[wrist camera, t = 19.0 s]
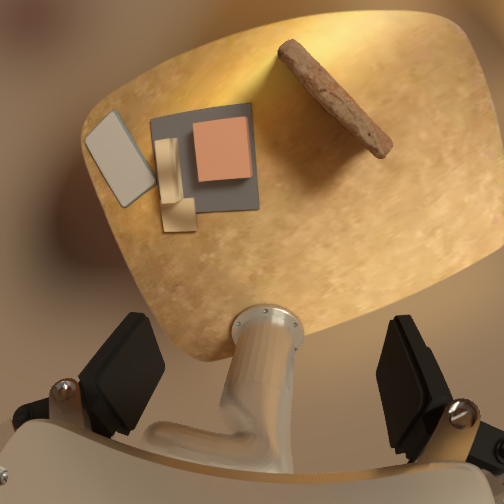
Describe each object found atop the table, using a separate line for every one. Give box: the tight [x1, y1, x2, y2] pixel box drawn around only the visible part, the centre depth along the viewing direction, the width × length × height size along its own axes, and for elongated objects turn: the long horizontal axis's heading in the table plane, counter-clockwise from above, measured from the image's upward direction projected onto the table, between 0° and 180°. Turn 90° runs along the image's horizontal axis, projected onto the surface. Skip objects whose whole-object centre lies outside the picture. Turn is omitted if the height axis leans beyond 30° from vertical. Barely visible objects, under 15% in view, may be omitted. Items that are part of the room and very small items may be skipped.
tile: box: [193, 116, 253, 182], centre depth 35 cm, size 2×7×8 cm
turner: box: [155, 138, 198, 232], centre depth 37 cm, size 14×6×3 cm, turn 3°
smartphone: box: [85, 110, 157, 208], centre depth 39 cm, size 8×1×15 cm
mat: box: [150, 103, 260, 213], centre depth 37 cm, size 15×15×1 cm
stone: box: [278, 39, 393, 159], centre depth 27 cm, size 19×10×4 cm
